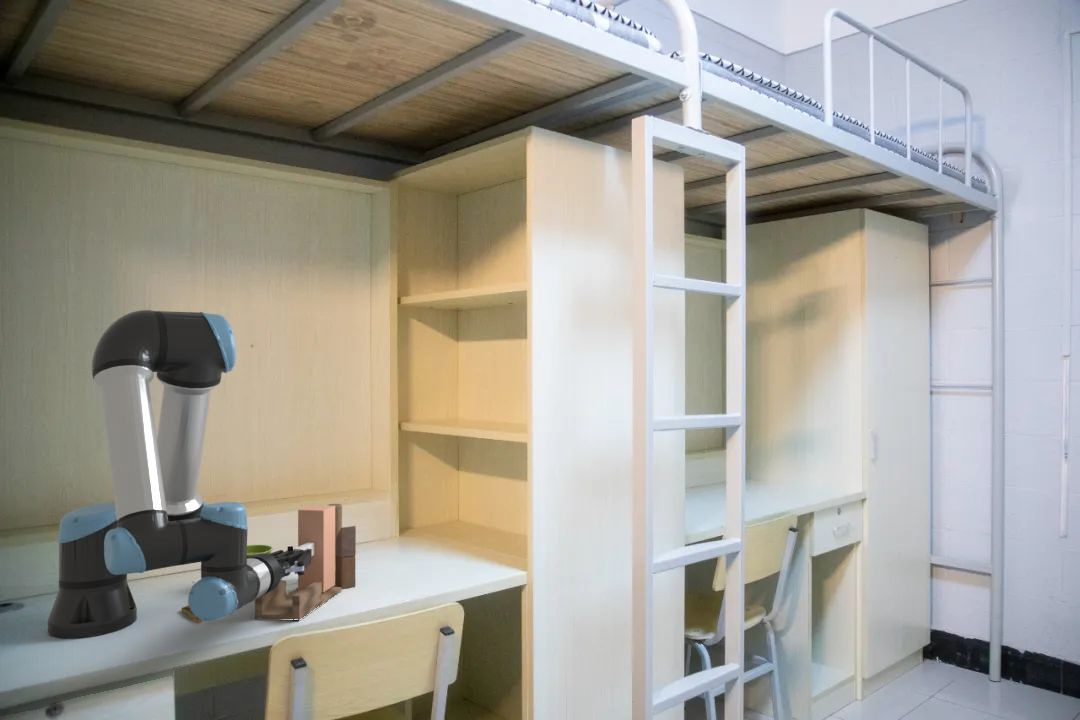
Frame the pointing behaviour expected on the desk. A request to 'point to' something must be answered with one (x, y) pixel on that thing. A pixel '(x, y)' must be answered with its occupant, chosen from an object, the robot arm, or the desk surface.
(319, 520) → the block
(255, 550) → the plant pot
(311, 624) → the desk surface
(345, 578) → the brown stepped tower
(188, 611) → the shard
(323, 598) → the chute
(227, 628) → the desk surface
